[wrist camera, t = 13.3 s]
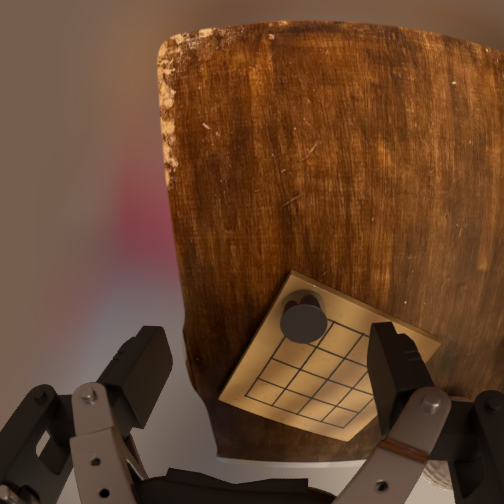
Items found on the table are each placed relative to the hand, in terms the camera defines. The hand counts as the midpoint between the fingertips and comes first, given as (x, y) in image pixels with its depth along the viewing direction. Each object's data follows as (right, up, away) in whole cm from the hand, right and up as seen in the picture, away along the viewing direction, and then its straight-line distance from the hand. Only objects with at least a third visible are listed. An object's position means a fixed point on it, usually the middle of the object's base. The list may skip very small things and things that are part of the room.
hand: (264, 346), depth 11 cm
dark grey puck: (+5, -3, +22) cm, 23 cm away
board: (+9, -12, +27) cm, 31 cm away
